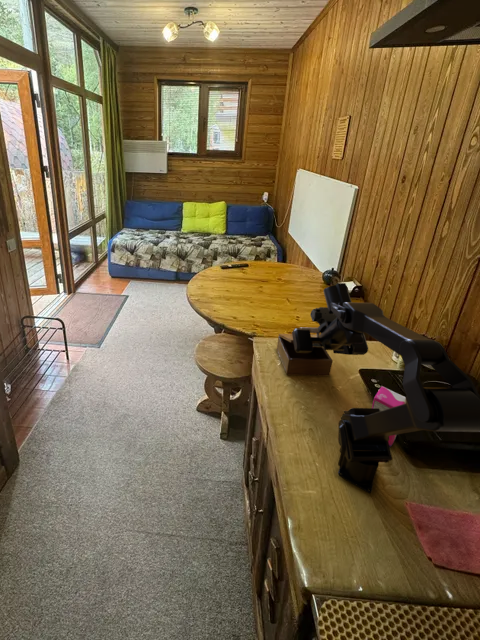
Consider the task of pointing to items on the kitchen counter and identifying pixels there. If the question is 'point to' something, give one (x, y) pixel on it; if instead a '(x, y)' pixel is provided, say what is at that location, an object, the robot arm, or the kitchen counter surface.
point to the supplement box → (388, 403)
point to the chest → (303, 360)
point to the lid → (312, 330)
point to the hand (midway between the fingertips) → (318, 350)
